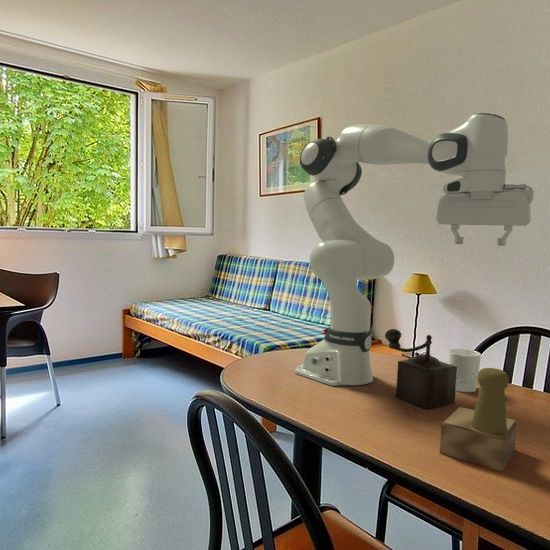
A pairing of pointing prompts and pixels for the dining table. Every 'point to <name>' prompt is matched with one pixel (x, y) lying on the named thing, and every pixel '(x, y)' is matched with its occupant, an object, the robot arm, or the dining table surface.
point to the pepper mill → (423, 376)
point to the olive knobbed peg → (491, 402)
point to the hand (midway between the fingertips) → (479, 244)
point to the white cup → (465, 368)
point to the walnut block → (476, 441)
